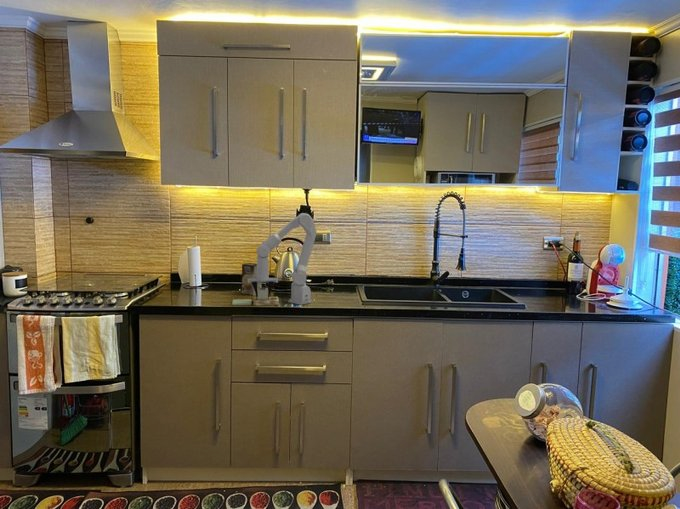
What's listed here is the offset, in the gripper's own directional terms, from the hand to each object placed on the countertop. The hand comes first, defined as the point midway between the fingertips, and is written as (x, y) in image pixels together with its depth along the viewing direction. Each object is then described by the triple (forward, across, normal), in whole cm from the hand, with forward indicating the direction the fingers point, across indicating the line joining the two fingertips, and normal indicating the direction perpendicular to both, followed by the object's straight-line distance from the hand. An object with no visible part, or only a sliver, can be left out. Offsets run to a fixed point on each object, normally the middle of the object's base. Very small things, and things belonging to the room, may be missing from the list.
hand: (262, 297), depth 230 cm
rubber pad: (+3, -10, +1) cm, 10 cm away
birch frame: (+3, +2, 0) cm, 3 cm away
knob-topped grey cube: (+3, 0, 0) cm, 3 cm away
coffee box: (+3, -6, +24) cm, 25 cm away
